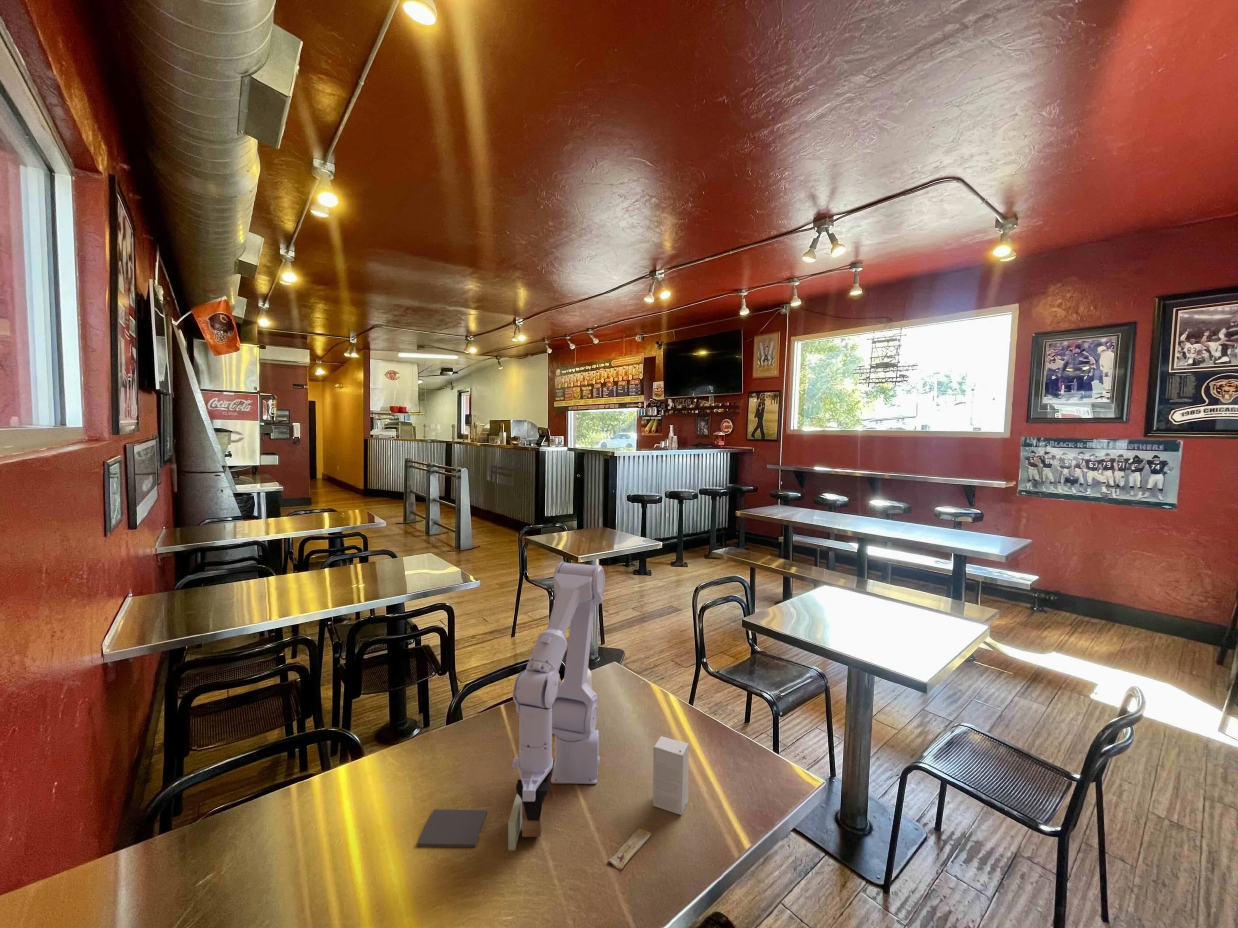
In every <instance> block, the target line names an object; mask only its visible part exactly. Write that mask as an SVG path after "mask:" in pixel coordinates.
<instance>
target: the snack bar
mask: <svg viewBox="0 0 1238 928" xmlns="http://www.w3.org/2000/svg"><path fill="white" fill-rule="evenodd" d="M651 836H652V833H651V832H649V831H648V830H645V829H643V828H641V827H639V828H638V829H637V830H636V831H635V832H634V833H633V834H632V835H631V836H630V837H629V838H628V839H627V840H626V841H625V843H623V845H621V846H620V847H619V848H618V850H617V851H616V852H615V853H614V854H613V856H611V857H610V858H609V859H608V860H607V861H606V863H608V864H611V866H612V867H614V868H615V869H616V870H618V871H621V870H623V869H624V867H625V865H626V864H627V863H629V860H630V859H631V858H632V857H633V856H635V854H636V852H637V851H639V850H640V849H641V847H642V846H643V845H644V844H645V842H646V841H647V840H648V839H649V838H650V837H651Z"/></svg>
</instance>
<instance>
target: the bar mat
mask: <svg viewBox="0 0 1238 928" xmlns="http://www.w3.org/2000/svg"><path fill="white" fill-rule="evenodd" d="M487 813H488V811H487V809H433V810H432V812H431V814H430V817H429V819H428V821H427V822H426V824H425V826H424V829H423V831H422V833H421V834H420V837H419V839H418V841H417V843H416V845H417V847H440V848H441V847H442V848H443V847H444V848H446V847H448V848H453V847H455V848H475V847H476V845H477V842H478V839H479V837H480V834H481V831H482V827H483V824H484V821H485V819H486V817H487Z"/></svg>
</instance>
